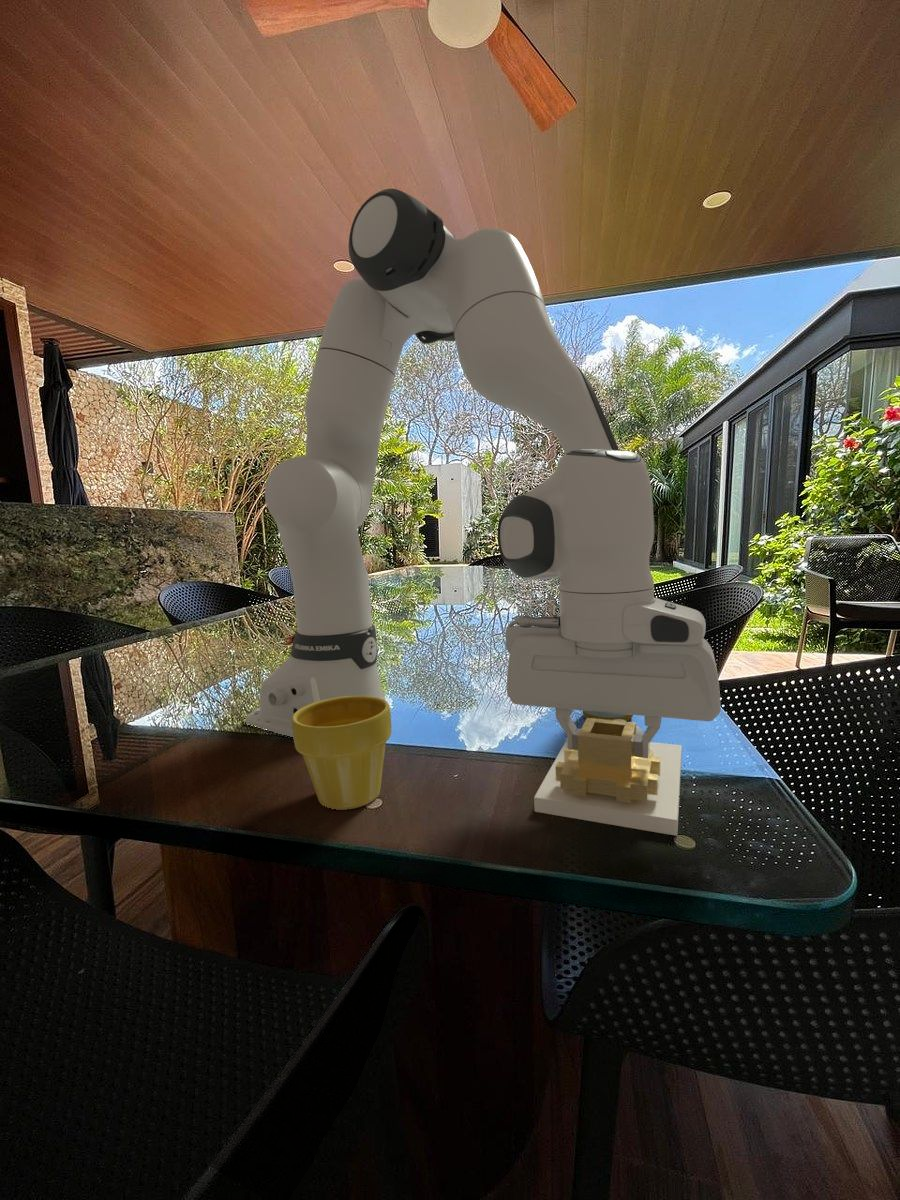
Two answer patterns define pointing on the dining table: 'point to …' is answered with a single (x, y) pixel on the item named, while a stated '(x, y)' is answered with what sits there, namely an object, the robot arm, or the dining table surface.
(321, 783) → the plant pot
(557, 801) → the carrier plate
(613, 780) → the gear
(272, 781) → the dining table surface
